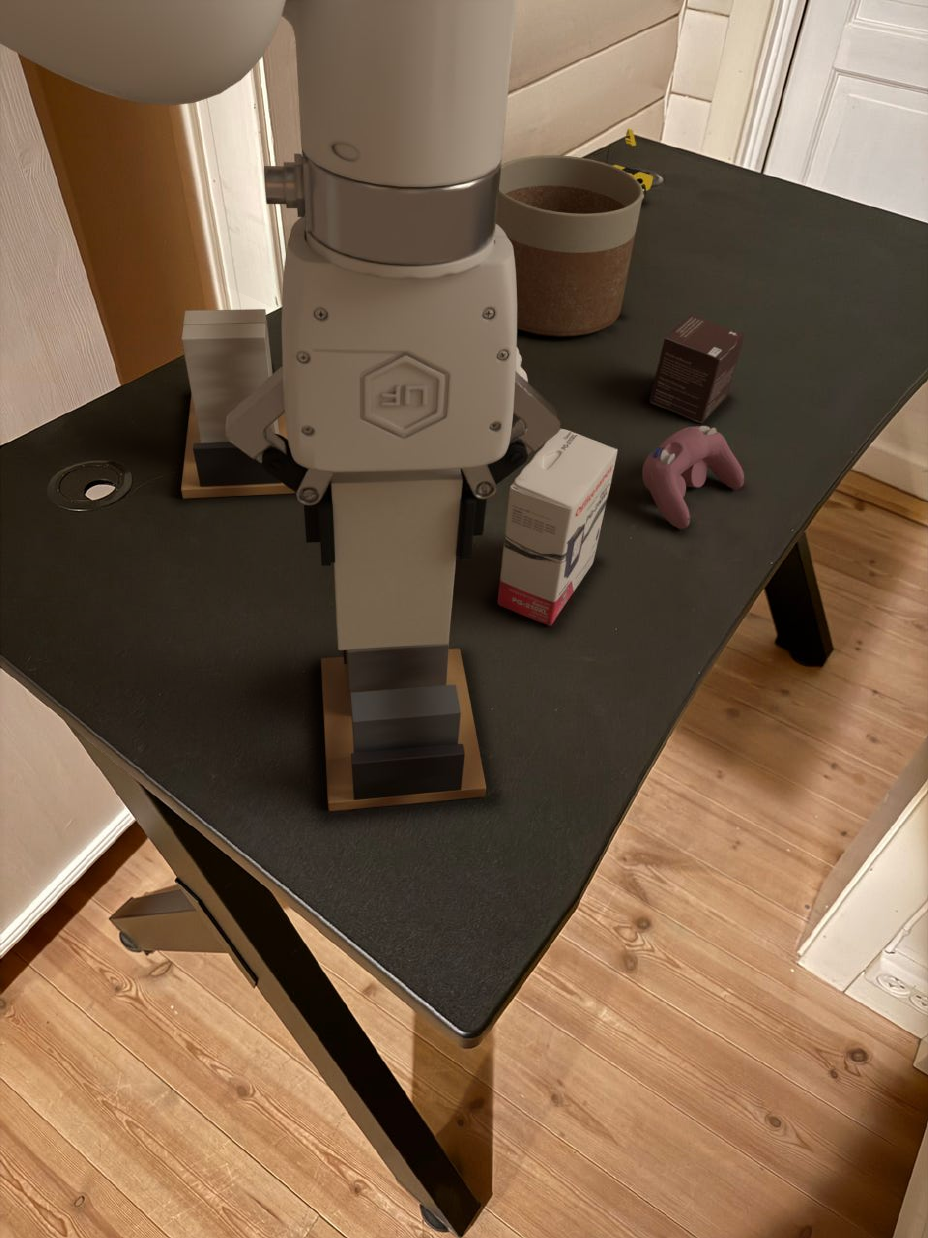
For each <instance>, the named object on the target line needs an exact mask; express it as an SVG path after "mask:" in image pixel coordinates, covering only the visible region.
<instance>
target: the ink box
mask: <svg viewBox="0 0 928 1238" xmlns="http://www.w3.org/2000/svg"><path fill="white" fill-rule="evenodd" d="M617 456H618V448H616V447H613V446H611V445H610V446H609V445H607V444H605V443H602V442H599V441H597V440H594V439H592V438H589V437H586V436H584V435H581V434H579V433H576V432H574V431H571V430H568V429H565V428H560V431H559V432H558V433H557V434H556V435H554V436H553V437H552V438H551V439H549V440H548V441H547V442H546V443H545V444H543V445H542V446H541V447H540V448H539V449H538V451H537V452H536V453H535V454H534V456H533V457H532V459H531V460H530V461H529V462H528V463H527V464H526V465H525V466H524V467H523V469H522V470H521V472H520V473H519V474H518V476H516V477H515V478H514V481H513V482H512V483H511V485H510V486H509V492H508V502H507V511H506V512H507V513H506V520H505V530H504V540H503V541H504V542H503V549H502V558H501V569H500V577H499V585H498V596H497V604H498V606H500V607H502V608H504V609H507V610H509V611H512V612H514V613H516V614H518V615H521V616H523V617H526V618H528V619H531V620H534V621H536V622H539V623H541V624H545V625H546V626H549V627H551V626H552V625H553V624H554V622H555V621H556V619H557V617H558V616H559V614H560V613H561V611H562V610H563V608H564V607H565V605H566V604H567V602H568V601H569V600H570V598H571V597H572V595H573V594H574V592H575V591H576V589H577V588H578V586H579V585H580V584H581V582H582V580H583V579H584V577H585V576H586V574H587V573H588V572H589V571H590V569H591V567H592V565H593V563H594V561H595V556H596V551H597V547H598V543H599V539H600V534H601V531H602V530H601V529H602V524H603V521H604V516H605V511H606V507H607V501H608V498H609V493H610V490H611V489H610V488H611V484H612V480H613V474H614V470H615V465H616V461H617Z"/></svg>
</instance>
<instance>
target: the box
mask: <svg viewBox="0 0 928 1238" xmlns="http://www.w3.org/2000/svg"><path fill="white" fill-rule="evenodd" d="M745 338H746V335H745V333H743V332H741V331H738V330H735V329H732V328H729V327H727V326H726V327H725V326H723V325H721V324H718V323H715V322H712V321H709V320H707V319H704V318H701V317H699V316H696V315H694V314H690V315H689V316H688V317H687V318H685V319H684V320H683V321H682V322H681V323H680V324H679V325H677V326H676V327H674V329H672V330H671V331H670V332H669V333H668V334H667V335H665V337H664V338H663V339H664V340H663V345H662V348H661V351H660V356H659V360H658V364H657V367H656V372H655V376H654V380H653V384H652V389H651V394H650V395H649V396H650V397H649V402H650V404H652V405H655V406H657V407H660V408H662V409H665V410H667V411H670V412H673V413H676V414H678V415H681V416H682V417H685V418H687V419H689V420H692V421H694V422H696V423H700V424H703V423H704V422H705V421H706V420H707V419H708V418H709V416H710V415H712V413H713V412H714V411H715V410H716V409H717V408H718V407H719V406H720V405H721V404H723V402H724V401H725V400H726V398H727V397H728V393H729V390H730V386H731V384H732V380H733V377H734V374H735V371H736V367H737V364H738V360H739V357H740V354H741V351H742V347H743V344H744V340H745Z"/></svg>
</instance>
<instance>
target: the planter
mask: <svg viewBox="0 0 928 1238" xmlns="http://www.w3.org/2000/svg"><path fill="white" fill-rule="evenodd" d="M642 197H643V190H642V187H641V185H640V184H639V182H638V181H637V180H636V179H635V178H634V177H632V176H631V175H630V174H628V173H626V172H625V171H623V170H621V169H619V168H616V167H614V166H613V165H611V164H609V163H607V164H606V162H602V161H599V160H594V159H589V158H585V157H580V156H579V157H578V156H571V155H556V154H555V155H553V154H552V155H551V154H549V155H547V154H545V155H531V156H525V157H524V156H523V157H520V158H516V159H512V160H510V161H507V162H505V163H503V164H501V174H500V184H499V195H498V205H497V215H496V224H497V225H498V226H499V227H500V228H501V229H502V230H503V231H504V232H505V234H506V236H507V238H508V239H509V240H510V242H511V243H512V245H513V250H514V258H515V268H516V285H517V330H520V331H523V332H526V333H529V334H534V335H539V336H547V337H558V338H559V337H560V338H561V337H562V338H566V337H578V336H585V335H590V334H593V333H597V332H600V331H601V330H604V329H605V328H608V327H609V326H611V325H612V324H613V323H615V321H616V320H617V319H618V318H619V316H620V314H621V311H622V305H623V301H624V297H625V296H624V294H625V290H626V286H627V281H628V275H629V269H630V264H631V260H632V254H633V248H634V243H635V239H636V235H637V234H636V232H637V227H638V223H639V217H640V213H641V207H642V203H643V201H642ZM641 202H642V203H641Z"/></svg>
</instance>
